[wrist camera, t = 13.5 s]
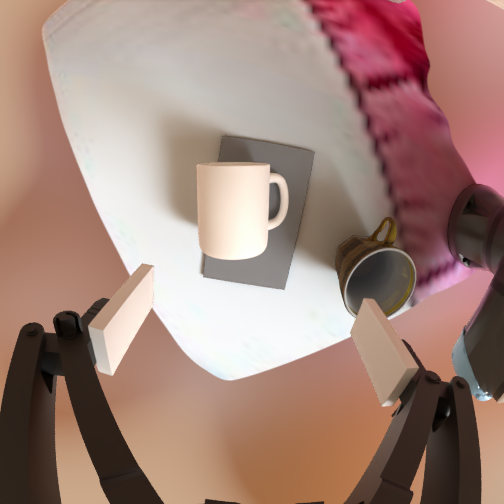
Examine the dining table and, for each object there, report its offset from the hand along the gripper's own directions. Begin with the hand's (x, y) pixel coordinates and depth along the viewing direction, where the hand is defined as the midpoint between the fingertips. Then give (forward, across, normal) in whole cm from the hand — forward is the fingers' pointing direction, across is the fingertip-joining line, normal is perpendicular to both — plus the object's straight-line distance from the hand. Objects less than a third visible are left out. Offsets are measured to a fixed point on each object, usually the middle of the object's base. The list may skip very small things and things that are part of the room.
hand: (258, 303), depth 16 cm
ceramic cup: (+23, +15, -2) cm, 27 cm away
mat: (+22, 0, 0) cm, 22 cm away
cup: (+18, -1, -3) cm, 19 cm away
